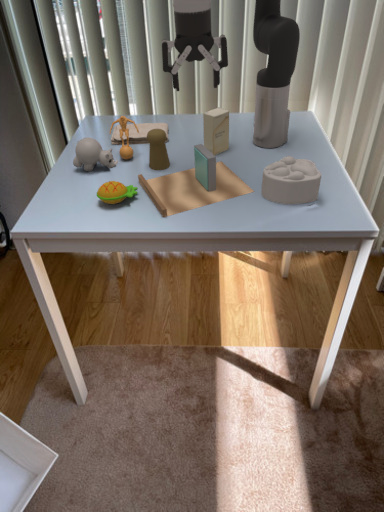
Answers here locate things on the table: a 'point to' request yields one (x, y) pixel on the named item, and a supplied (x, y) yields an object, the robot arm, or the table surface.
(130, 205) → the table surface
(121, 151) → the figurine
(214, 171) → the slate tile
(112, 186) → the toy pineapple
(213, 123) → the skincare box
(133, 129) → the washcloth
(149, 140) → the olive pepper mill
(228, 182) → the oak board
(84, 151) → the chubby cartoon animal
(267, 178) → the lumpy-topped squat cylinder
